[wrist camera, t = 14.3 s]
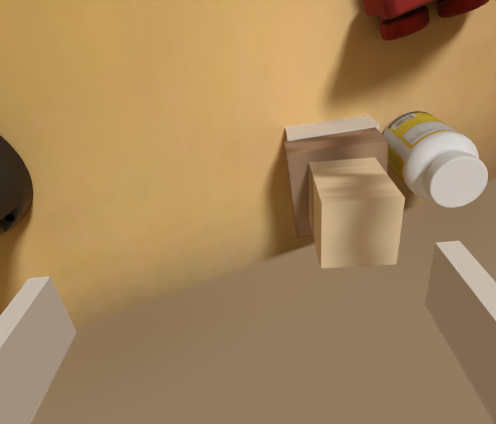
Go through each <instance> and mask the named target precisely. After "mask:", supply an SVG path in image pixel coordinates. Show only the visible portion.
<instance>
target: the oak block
mask: <svg viewBox="0 0 496 424" xmlns="http://www.w3.org/2000/svg"><path fill="white" fill-rule="evenodd" d="M404 202H405V197H404V196H403V195H402V193H401V192H400V191H399V189H398V188H397V186H396V185H395V184H394V182H393V181H392V180H391V178H390V177H389V176H388V174H387V173H386V172H385V170H384V169H383V168H382V166H381V165H380V164H379V162H378V161H377V160H376V158H375V157H374V158H361V159H347V160H333V161H320V162H309V220H310V224H311V228H312V233H313V237H314V241H315V245H316V249H317V253H318V257H319V262H320V266H321V268H335V267H354V266H369V265H370V266H371V265H389V264H396V262H397V255H398V247H399V240H400V232H401V225H402V217H403V210H404Z"/></svg>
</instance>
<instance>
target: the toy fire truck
mask: <svg viewBox="0 0 496 424" xmlns="http://www.w3.org/2000/svg"><path fill="white" fill-rule="evenodd" d="M431 1H434V0H363V3H364V6H365V10H366V13H367V15H368V16H380V17H381V18H382V19H385V20H384V21H382V22H381V23H380V31H381V35H382V38H383V39H384V40H387V41H388V40H394V39H398V38H401V37H404V36H407V35H410V34H412V33H415V32H417V31H419V30H421V29H422V28H424V27H426V26H427V25H428V24H429V21H430V18H429V12H428V7H426V6H422V5H425V4H427V3H429V2H431ZM487 2H489V0H438V1H437V11H438V15H439V17H442V18H446V17H452V16H456V15H459V14H463V13H466V12H468V11H471V10H474V9H476V8H478V7H480V6H482V5H484V4H486V3H487Z"/></svg>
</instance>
